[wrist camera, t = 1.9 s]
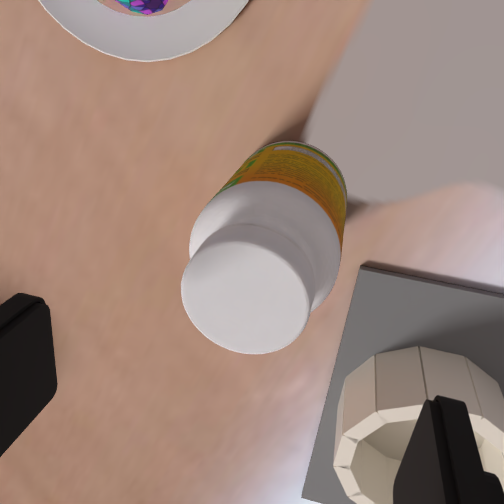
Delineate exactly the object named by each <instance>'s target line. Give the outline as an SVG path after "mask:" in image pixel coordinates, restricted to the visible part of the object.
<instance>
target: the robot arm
mask: <svg viewBox="0 0 504 504" xmlns="http://www.w3.org/2000/svg"><path fill="white" fill-rule="evenodd" d="M56 390H57V376H56V366H55V356H54V346H53V336H52V326H51V317H50V309H49V307H48V305H46V304H45V301H44V300H43V298H40V297H37V296H32V295H28V294H24V293H18V294H16V295H14V296H13V297H11V298H10V299H8V300H7V301H6V302H4V303H3V304H1V305H0V457H1V456H2V454H3V453H4V452H5V451H6V450H7V449H8V448H9V447H10V445H11V444H12V443H13V442H14V441H15V440H16V439H17V438H18V436H19V435H20V434H21V433H22V432H23V431H24V430H25V429H26V427H27V426H28V425H29V424H30V423H31V422H32V421H33V420H34V418H35V417H36V416H37V415H38V414H39V413H40V412H41V411H42V410H43V408H44V407H45V406H46V405H47V404H48V403H49V402H50V401H51V399H52V398H53V397H54V395H55V393H56ZM393 504H504V491H503V488H502V485H501V482H500V480H499V478H498V477H497V476H496V475H495V474H493V473H490V472H486V471H484V469H483V466H482V462H481V458H480V454H479V451H478V447H477V443H476V439H475V436H474V432H473V428H472V424H471V421H470V417H469V413H468V409H467V406H466V404H465V402H464V401H460V400H456V399H452V398H448V397H444V396H440V395H436V397H435V398H434V400H428V399H426V400H425V402H424V404H423V407H422V409H421V412H420V414H419V417H418V420H417V422H416V425H415V427H414V430H413V433H412V435H411V438H410V440H409V443H408V446H407V448H406V451H405V453H404V456H403V459H402V461H401V464H400V467H399V469H398V472H397V474H396V477H395V480H394V485H393Z"/></svg>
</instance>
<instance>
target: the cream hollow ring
mask: <svg viewBox="0 0 504 504" xmlns="http://www.w3.org/2000/svg"><path fill="white" fill-rule="evenodd" d="M436 395H440V396H444V397H448V398H452V399H456V400H460V401H464V402H465V404H466V406H467V409H468V413H469V417H470V421H471V424H472V428H473V432H474V436H475V439H476V443H477V447H478V451H479V454H480V458H481V462H482V466H483V469H484V471H486V472H490V473H493V474H495V475H496V476H497V477H498V478H499V480H500V482H501V485H502V488H503V491H504V398H503V395H502V392H501V390H500V387H499V384H498V383H497V381H495V380H494V379H493V378H492V377H490V376H489V375H488V374H487V373H485V372H484V371H483V370H482V369H480V368H479V367H478V366H477V365H475V364H474V363H473V362H472V361H470V360H469V359H468V358H467V357H464V356H462V355H457V354H453V353H448V352H444V351H439V350H435V349H430V348H426V347H421V346H420V348H418V346H416V347H411V348H405V349H400V350H395V351H389V352H384V353H379V354H376V356H375V355H373V356H372V357H371V358H369V359H368V360H367V361H365V362H364V363H363V364H362V365H360V366H359V367H358V368H356V369H355V370H354V371H353V372H351V373H350V374H349V375H348V376H346V378H345V381H344V385H343V389H342V392H341V396H340V399H339V403H338V409H337V422H336V435H335V449H334V462H333V467H334V469H335V471H336V473H337V476H338V478H339V480H340V482H341V484H342V486H343V488H344V490H345V493H346V495H347V496H348V498H350V499H351V500H352V501H354V502H355V503H356V504H393V485H394V480H395V477H396V474H397V472H398V469H399V467H400V464H401V461H402V459H403V456H404V453H405V451H406V448H407V446H408V443H409V440H410V438H411V435H412V433H413V430H414V427H415V425H416V422H417V420H418V417H419V414H420V412H421V409H422V407H423V404H424V402H425V400H426V399H428V400H434V398H435V397H436Z"/></svg>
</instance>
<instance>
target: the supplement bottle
mask: <svg viewBox="0 0 504 504" xmlns="http://www.w3.org/2000/svg"><path fill="white" fill-rule="evenodd" d="M346 208H347V190H346V185H345V181H344V178H343V175H342V173H341V171H340V170H339V168H338V167H337V165H336V164H335V162H334V161H333V160H332V159H331V158H330V157H329V156H328V155H327V154H325V153H324V152H323V151H321V150H320V149H318V148H316V147H314V146H312V145H309V144H306V143H303V142H297V141H281V142H276V143H272V144H269V145H267V146H264V147H263V148H261V149H259V150H258V151H256V152H255V153H254V154H252V155H251V156H250V157H249V158H248V159H247V160H246V161H245V162H244V163H243V165H242V166H241V167H240V168H239V169H238V170H237V171H236V173H235V174H234V175H233V176H232V177H231V178H230V180H229V181H228V182H227V183H226V184H225V185H224V186H223V187H222V189H221V190H220V191H219V192H218V193H217V194H216V195H215V196H214V197H213V198H212V199H211V201H210V202H209V203H208V204H207V205H206V207H205V208H204V209H203V210H202V212H201V213H200V215H199V217H198V218H197V220H196V222H195V224H194V227H193V230H192V233H191V238H190V245H189V255H190V261H189V263H188V264H187V266H186V268H185V271H184V273H183V277H182V282H181V295H182V301H183V305H184V307H185V310H186V312H187V314H188V316H189V318H190V319H191V321H192V322H193V324H194V325H195V326H196V327H197V329H198V330H199V331H200V332H201V333H202V334H204V335H205V336H206V337H207V338H208V339H210V340H211V341H213V342H214V343H216V344H218V345H220V346H222V347H224V348H226V349H229V350H232V351H235V352H239V353H245V354H265V353H270V352H274V351H277V350H280V349H282V348H284V347H286V346H287V345H289V344H290V343H292V342H293V341H294V340H295V339H296V338H297V337H298V336H299V335H300V334H301V332H302V331H303V330H304V328H305V326H306V324H307V322H308V319H309V316H310V312H312V311H313V310H315V309H316V308H317V307H318V306H319V305H320V304H321V303H322V302H323V301H324V300H325V299H326V297H327V296H328V295H329V293H330V292H331V290H332V288H333V286H334V284H335V281H336V278H337V275H338V271H339V266H340V261H341V252H342V242H343V233H344V224H345V216H346Z"/></svg>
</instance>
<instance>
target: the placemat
mask: <svg viewBox="0 0 504 504" xmlns="http://www.w3.org/2000/svg"><path fill="white" fill-rule="evenodd" d="M416 346H418V348H420V346H421V347H426V348H430V349H435V350H439V351H444V352H448V353H453V354H457V355H462V356H464V357H467V358H468V359H469V360H470V361H472V362H473V363H474V364H475V365H477V366H478V367H479V368H480V369H482V370H483V371H484V372H485V373H487V374H488V375H489V376H490V377H492V378H493V379H494V380H495V381H497V383H498V384H499V387H500V390H501V392H502V395H503V398H504V295H503V294H498V293H493V292H488V291H484V290H479V289H474V288H469V287H464V286H459V285H454V284H449V283H444V282H439V281H434V280H429V279H424V278H419V277H414V276H409V275H404V274H399V273H395V272H390V271H385V270H380V269H375V268H370V267H365V266H360V268H359V272H358V276H357V280H356V284H355V288H354V292H353V296H352V300H351V304H350V308H349V311H348V315H347V319H346V323H345V327H344V331H343V335H342V339H341V343H340V347H339V351H338V354H337V358H336V362H335V366H334V370H333V374H332V378H331V382H330V386H329V390H328V394H327V397H326V401H325V405H324V409H323V413H322V417H321V421H320V425H319V429H318V433H317V437H316V440H315V444H314V448H313V452H312V456H311V460H310V464H309V468H308V472H307V476H306V480H305V483H304V487H303V491H302V498H304V499H308V500H311V501H315V502H319V503H322V504H356V503H355V502H354V501H352V500H351V499H350V498H348V496H347V495H346V493H345V490H344V488H343V486H342V484H341V482H340V480H339V478H338V476H337V473H336V471H335V469H334V467H333V462H334V449H335V435H336V422H337V409H338V403H339V399H340V396H341V392H342V389H343V385H344V381H345V378H346V376H348V375H349V374H350V373H351V372H353V371H354V370H355V369H356V368H358V367H359V366H360V365H362V364H363V363H364V362H365V361H367V360H368V359H369V358H371V357H372V356H373V355H375V356H376V354H379V353H384V352H389V351H395V350H400V349H405V348H411V347H416Z"/></svg>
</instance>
